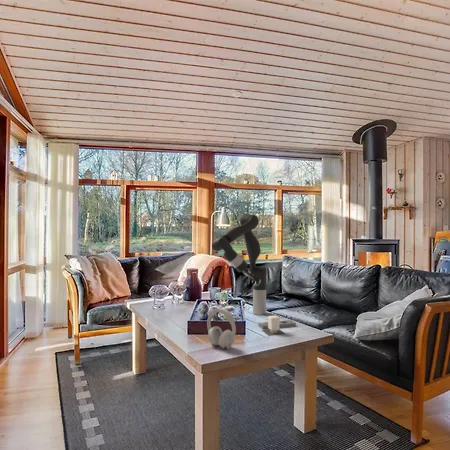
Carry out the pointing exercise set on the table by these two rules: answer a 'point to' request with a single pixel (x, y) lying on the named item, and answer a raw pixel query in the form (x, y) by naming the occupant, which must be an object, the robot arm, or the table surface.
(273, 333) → the mat
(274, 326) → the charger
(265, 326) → the power strip
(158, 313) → the table surface
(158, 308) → the table surface
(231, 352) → the table surface
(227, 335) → the headphones
